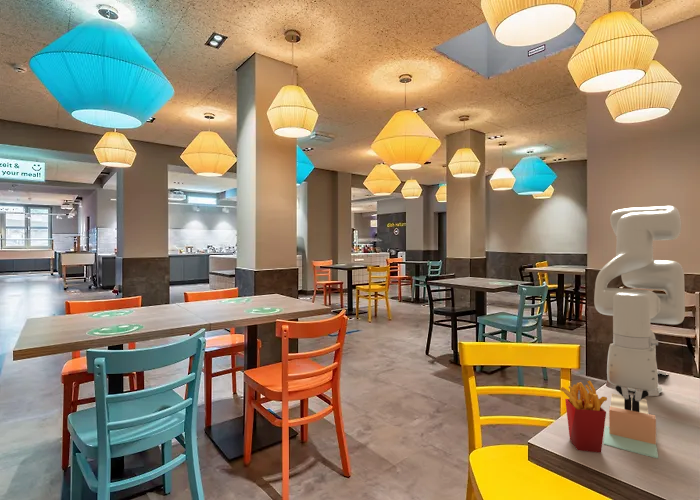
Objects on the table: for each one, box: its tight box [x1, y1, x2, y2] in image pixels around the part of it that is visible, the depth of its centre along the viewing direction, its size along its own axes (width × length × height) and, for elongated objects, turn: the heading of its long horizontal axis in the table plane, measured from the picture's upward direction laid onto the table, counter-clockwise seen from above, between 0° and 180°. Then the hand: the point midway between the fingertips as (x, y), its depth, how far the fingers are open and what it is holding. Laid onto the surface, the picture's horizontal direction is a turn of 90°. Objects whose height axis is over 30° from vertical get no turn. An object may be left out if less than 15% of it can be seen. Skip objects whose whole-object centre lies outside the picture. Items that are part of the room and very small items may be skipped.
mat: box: [603, 425, 659, 459], centre depth 90 cm, size 11×10×1 cm
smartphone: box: [657, 370, 669, 376], centre depth 137 cm, size 7×15×1 cm, turn 131°
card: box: [608, 405, 657, 446], centre depth 92 cm, size 6×9×2 cm
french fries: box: [559, 380, 608, 454], centre depth 89 cm, size 9×8×15 cm
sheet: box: [610, 393, 649, 414], centre depth 101 cm, size 16×8×4 cm, turn 144°
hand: (631, 414), depth 94 cm, fingers closed
